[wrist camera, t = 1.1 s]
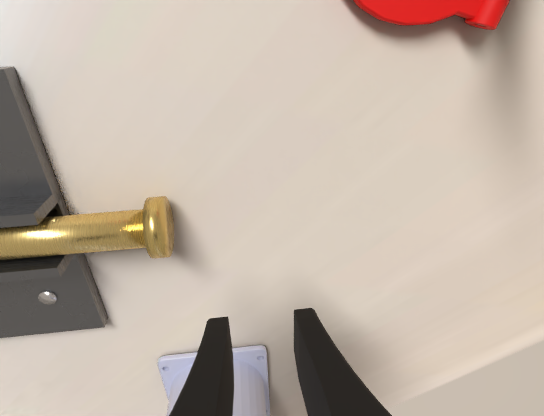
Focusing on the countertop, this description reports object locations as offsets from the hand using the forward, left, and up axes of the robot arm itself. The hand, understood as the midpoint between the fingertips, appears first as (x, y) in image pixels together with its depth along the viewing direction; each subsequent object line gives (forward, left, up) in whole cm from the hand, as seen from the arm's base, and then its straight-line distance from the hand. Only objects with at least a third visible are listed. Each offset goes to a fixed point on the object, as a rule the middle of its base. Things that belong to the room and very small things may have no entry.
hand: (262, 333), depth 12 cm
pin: (0, +12, -9) cm, 15 cm away
